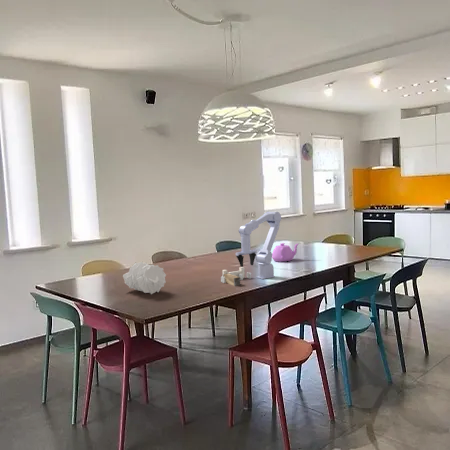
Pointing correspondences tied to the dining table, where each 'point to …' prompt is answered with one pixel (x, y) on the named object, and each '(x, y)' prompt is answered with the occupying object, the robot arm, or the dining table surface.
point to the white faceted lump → (145, 277)
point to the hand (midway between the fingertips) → (246, 265)
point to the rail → (232, 279)
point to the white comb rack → (236, 274)
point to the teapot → (283, 253)
